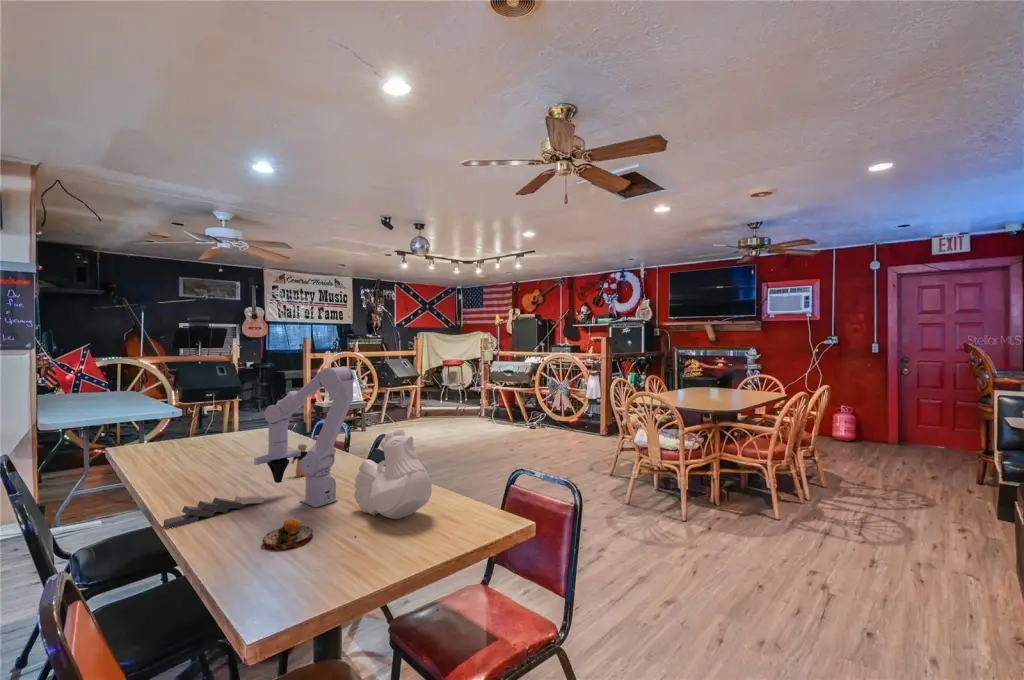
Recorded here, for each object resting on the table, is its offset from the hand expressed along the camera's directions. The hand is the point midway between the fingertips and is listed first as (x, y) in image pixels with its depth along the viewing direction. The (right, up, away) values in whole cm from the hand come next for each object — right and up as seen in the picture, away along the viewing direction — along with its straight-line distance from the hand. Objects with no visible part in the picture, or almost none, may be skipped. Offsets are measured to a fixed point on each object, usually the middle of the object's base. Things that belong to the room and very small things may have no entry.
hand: (278, 482), depth 154 cm
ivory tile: (-3, -4, -5) cm, 7 cm away
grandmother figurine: (-3, -5, +24) cm, 24 cm away
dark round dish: (+19, -6, -33) cm, 39 cm away
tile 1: (-7, -4, -10) cm, 13 cm away
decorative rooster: (+41, -5, -14) cm, 44 cm away
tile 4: (-14, -4, -19) cm, 24 cm away
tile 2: (-10, -4, -13) cm, 17 cm away
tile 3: (-12, -4, -16) cm, 20 cm away
